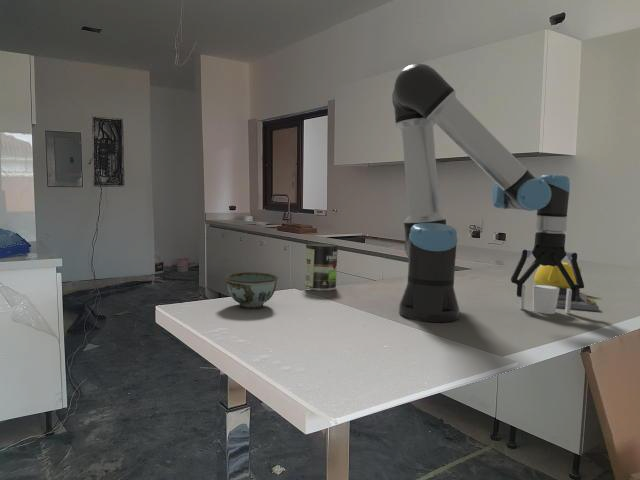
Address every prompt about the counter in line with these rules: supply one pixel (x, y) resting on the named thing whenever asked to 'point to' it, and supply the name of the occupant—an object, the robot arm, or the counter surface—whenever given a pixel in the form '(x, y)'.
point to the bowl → (251, 288)
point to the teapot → (554, 275)
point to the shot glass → (545, 298)
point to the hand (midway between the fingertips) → (544, 310)
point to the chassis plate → (582, 305)
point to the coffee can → (321, 266)
